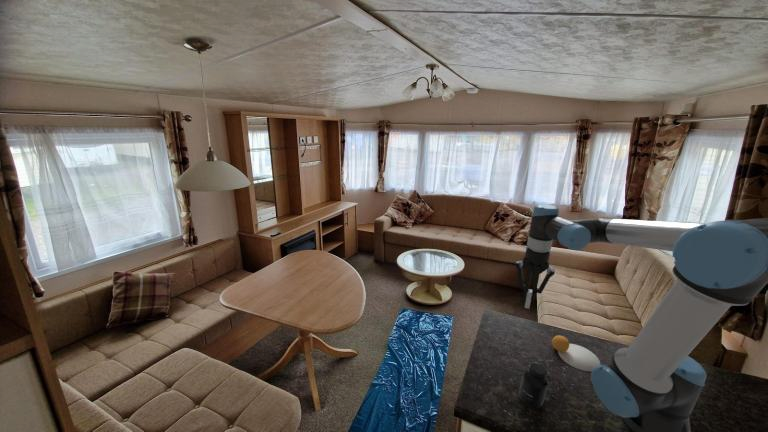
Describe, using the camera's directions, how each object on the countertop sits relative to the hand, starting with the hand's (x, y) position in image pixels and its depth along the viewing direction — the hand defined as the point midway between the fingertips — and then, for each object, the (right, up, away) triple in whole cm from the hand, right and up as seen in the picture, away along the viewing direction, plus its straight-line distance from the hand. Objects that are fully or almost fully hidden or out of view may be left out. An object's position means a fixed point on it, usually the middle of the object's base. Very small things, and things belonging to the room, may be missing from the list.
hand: (527, 306), depth 116 cm
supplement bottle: (-9, -22, -22) cm, 32 cm away
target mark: (+16, -17, -5) cm, 24 cm away
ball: (+11, -13, -2) cm, 17 cm away
